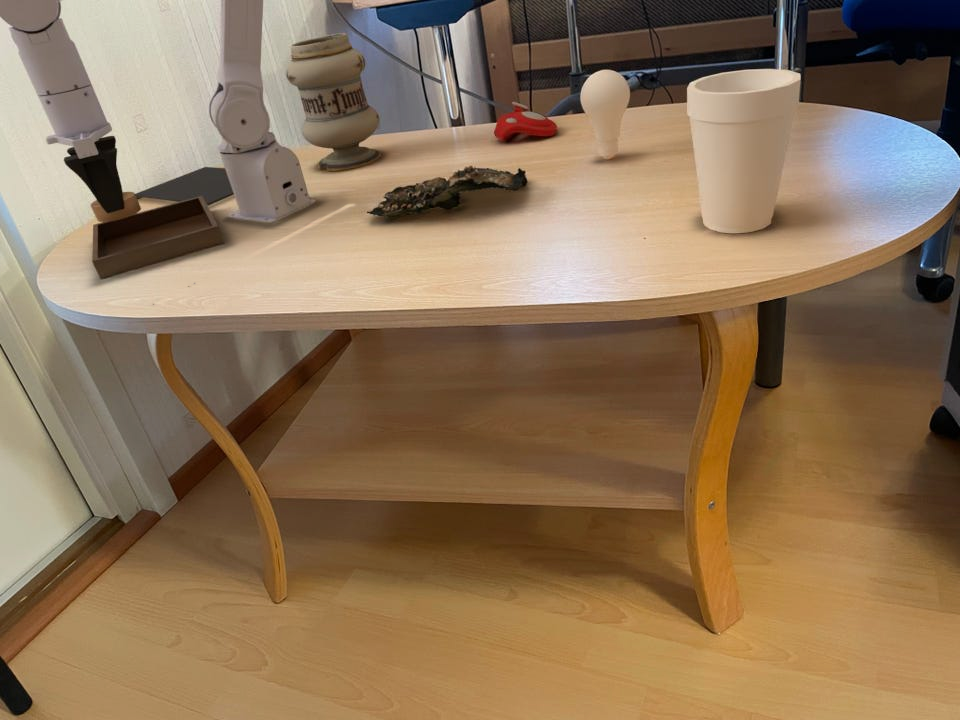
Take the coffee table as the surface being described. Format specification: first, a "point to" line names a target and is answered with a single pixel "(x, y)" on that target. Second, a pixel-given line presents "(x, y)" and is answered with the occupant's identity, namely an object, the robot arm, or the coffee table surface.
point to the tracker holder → (523, 123)
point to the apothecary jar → (334, 100)
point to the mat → (193, 187)
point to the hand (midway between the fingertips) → (115, 204)
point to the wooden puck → (130, 209)
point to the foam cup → (741, 144)
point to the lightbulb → (605, 108)
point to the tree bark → (445, 191)
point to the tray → (153, 237)
